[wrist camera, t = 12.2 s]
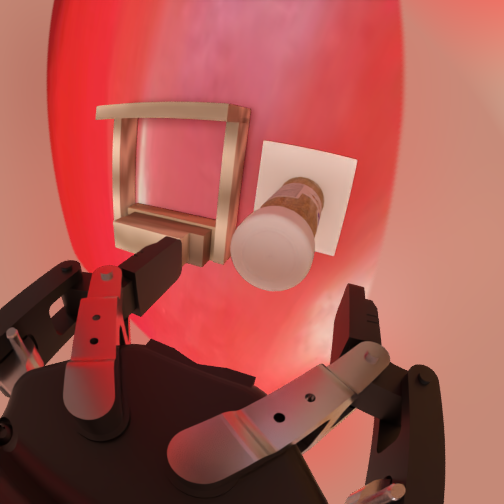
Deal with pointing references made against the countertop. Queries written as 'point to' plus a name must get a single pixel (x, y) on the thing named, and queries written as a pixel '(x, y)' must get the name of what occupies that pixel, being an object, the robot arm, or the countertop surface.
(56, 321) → the robot arm
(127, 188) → the frame
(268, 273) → the sprinkles bottle
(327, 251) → the cream mat
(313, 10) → the countertop surface
